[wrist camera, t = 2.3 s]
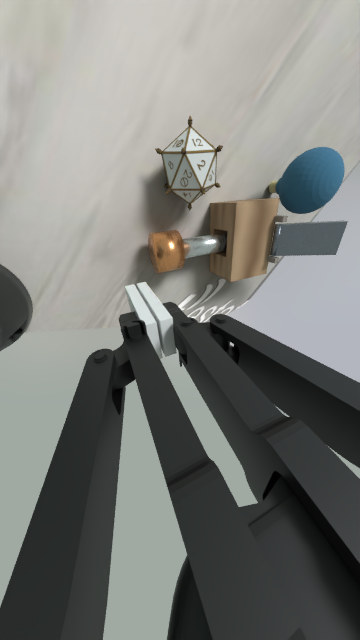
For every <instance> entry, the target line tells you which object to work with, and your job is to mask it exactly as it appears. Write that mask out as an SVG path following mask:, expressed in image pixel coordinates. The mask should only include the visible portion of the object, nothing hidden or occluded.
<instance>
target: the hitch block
mask: <svg viewBox="0 0 360 640" xmlns="http://www.w3.org/2000/svg"><path fill="white" fill-rule="evenodd" d="M279 199H280V198H273V199H250V200H239V201H228V202H218V203H210V235H214V234H220V233H227V232H228V233H227V250H226V251H222V252H217V253H211V254H210V262H209V271H211V272H212V273H214V274H216V275H218V276H220V277H222V278H224V279H226V280H228V281H230V282H233V281H237V280H241V279H245V278H249V277H253V276H258V275H262V274H266V272H267V266H268V262H272V263H278V260H279V258H278V257H274V256H269V255H270V249H271V244H272V238H273V233H274V227H275V222H287V217H288V216H277V210H278V205H279Z"/></svg>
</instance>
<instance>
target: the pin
mask: <svg viewBox="0 0 360 640" xmlns="http://www.w3.org/2000/svg"><path fill="white" fill-rule="evenodd" d="M227 233H228V232H227ZM227 233H220V234H214V235H207V236H200V237H194V238H187V239H182V237H181V235H180V233H179V232H178V231H177V230H171V231H163V232H156V233H150V234H149V238H148V245H149V252H150V257H151V261H152V264H153V267H154V269H155V271H156V272H157V273H162V272H167V271H172V270H177V269H181V268H183V266H184V262H185V258H190V257H195V256H201V255H206V254H211V253H217V252H222V251H226V250H227Z"/></svg>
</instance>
